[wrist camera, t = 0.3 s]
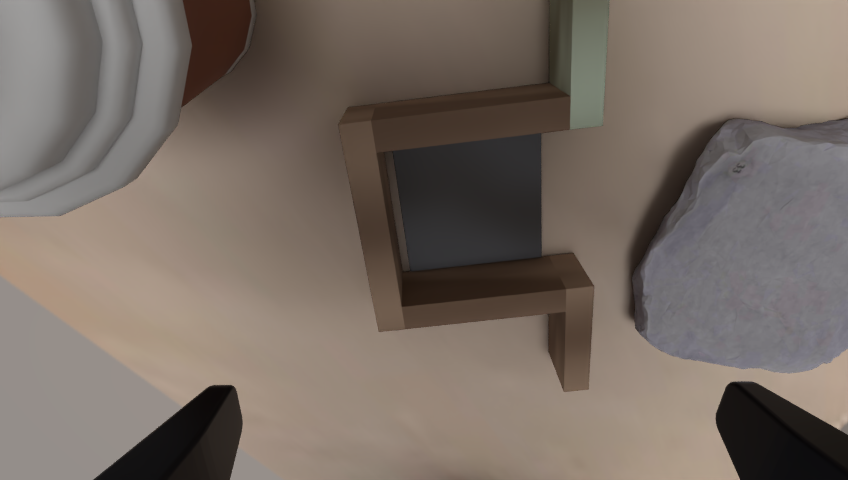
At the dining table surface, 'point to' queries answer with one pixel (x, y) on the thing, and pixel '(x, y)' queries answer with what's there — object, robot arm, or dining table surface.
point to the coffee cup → (101, 90)
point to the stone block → (754, 252)
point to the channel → (480, 197)
